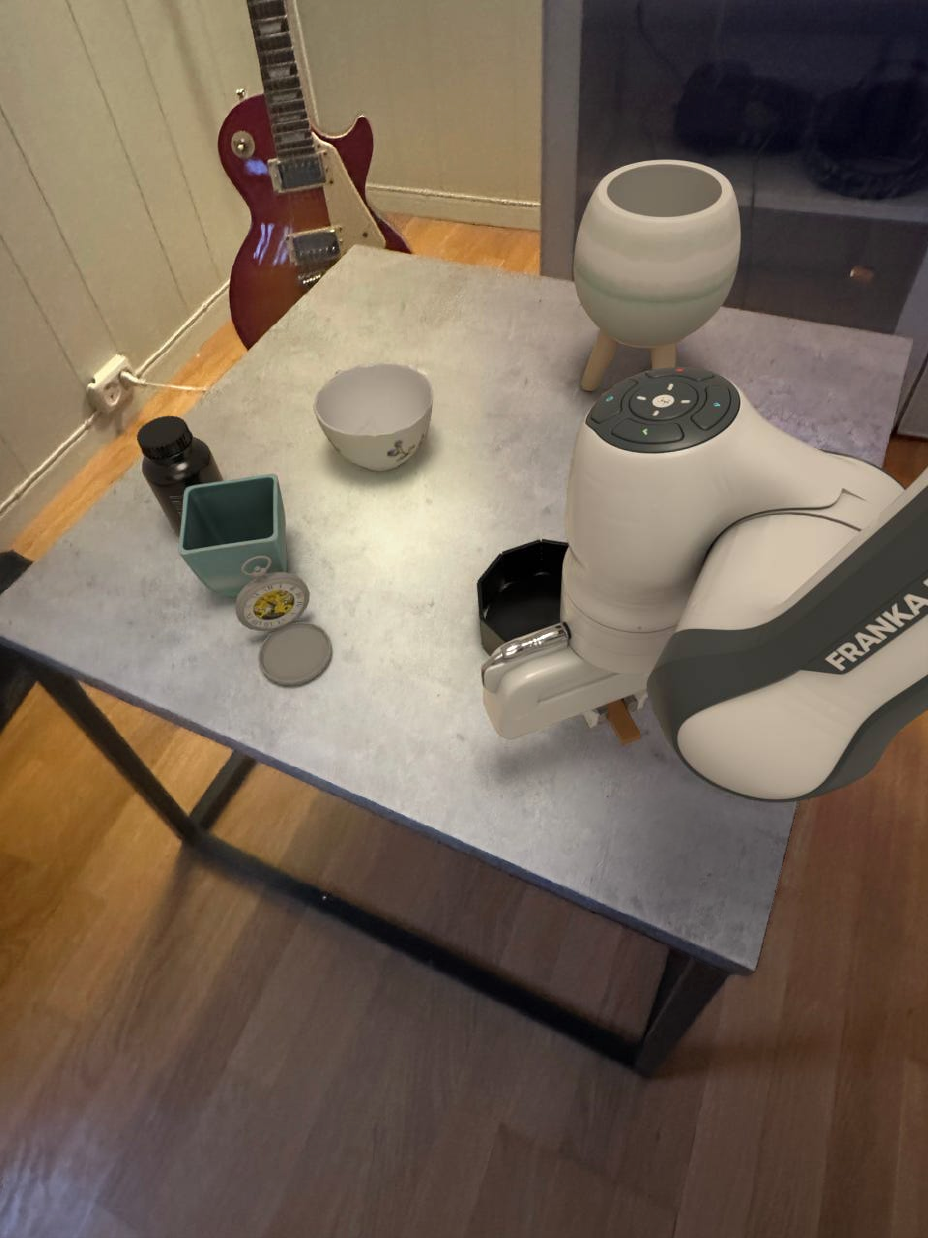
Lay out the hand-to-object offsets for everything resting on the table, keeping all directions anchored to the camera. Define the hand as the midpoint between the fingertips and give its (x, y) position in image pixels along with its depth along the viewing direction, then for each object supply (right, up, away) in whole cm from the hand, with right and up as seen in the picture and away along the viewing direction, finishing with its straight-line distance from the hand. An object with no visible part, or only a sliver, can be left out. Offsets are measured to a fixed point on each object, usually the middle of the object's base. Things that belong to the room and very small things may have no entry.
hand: (611, 710), depth 60 cm
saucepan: (-2, +3, +7) cm, 8 cm away
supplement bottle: (-39, +18, +21) cm, 48 cm away
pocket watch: (-27, +5, +10) cm, 30 cm away
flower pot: (-32, +12, +16) cm, 38 cm away
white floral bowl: (-21, +26, +26) cm, 43 cm away
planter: (+9, +34, +29) cm, 46 cm away
